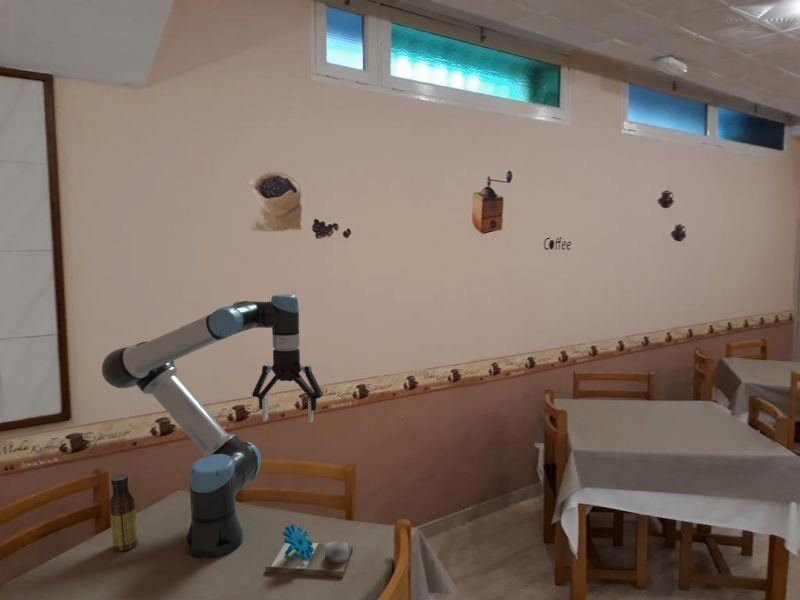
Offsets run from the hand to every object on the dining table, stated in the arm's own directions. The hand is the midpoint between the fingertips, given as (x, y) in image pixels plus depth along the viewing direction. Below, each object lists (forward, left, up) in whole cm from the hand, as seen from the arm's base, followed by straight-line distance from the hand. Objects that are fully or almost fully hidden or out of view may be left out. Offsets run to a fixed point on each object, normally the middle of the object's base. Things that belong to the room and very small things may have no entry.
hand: (288, 420), depth 162 cm
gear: (+8, -18, -30) cm, 36 cm away
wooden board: (+11, -18, -32) cm, 38 cm away
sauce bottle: (-42, -16, -32) cm, 55 cm away
